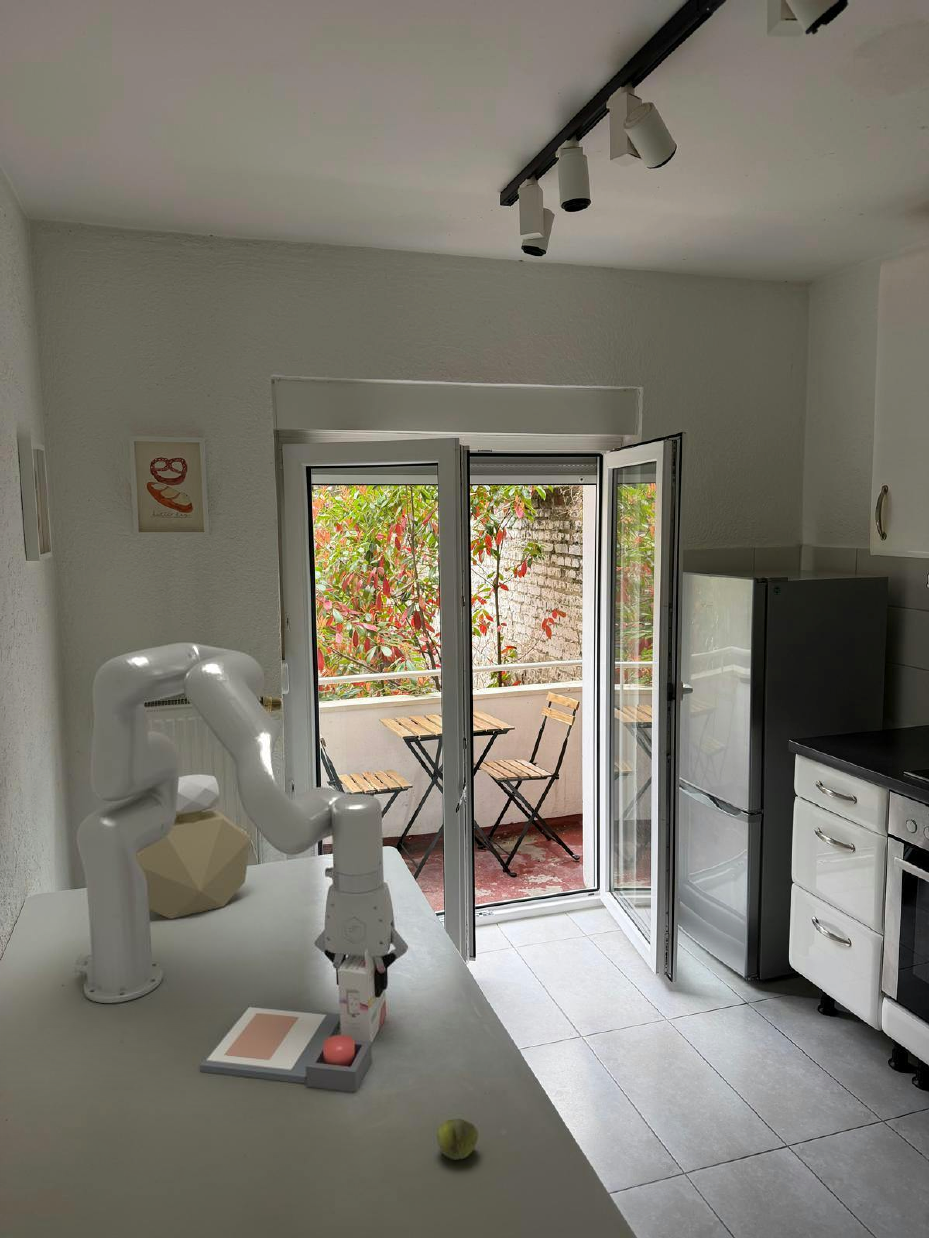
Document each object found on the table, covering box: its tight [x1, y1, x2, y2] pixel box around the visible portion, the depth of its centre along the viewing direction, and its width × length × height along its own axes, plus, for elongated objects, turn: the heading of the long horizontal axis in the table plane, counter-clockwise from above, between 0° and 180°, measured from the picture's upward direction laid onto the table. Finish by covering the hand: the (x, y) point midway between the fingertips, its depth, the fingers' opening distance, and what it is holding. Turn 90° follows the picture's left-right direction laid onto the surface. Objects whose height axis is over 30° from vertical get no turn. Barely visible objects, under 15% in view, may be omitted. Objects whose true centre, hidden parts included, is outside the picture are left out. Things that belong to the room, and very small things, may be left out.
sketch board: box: [199, 1004, 341, 1085], centre depth 131 cm, size 16×16×1 cm
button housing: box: [306, 1037, 373, 1093], centre depth 124 cm, size 7×7×3 cm
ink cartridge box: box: [337, 949, 387, 1045], centre depth 134 cm, size 9×5×15 cm, turn 168°
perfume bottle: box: [136, 773, 252, 920], centre depth 178 cm, size 12×24×28 cm, turn 121°
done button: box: [323, 1034, 355, 1067], centre depth 124 cm, size 4×4×3 cm
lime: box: [436, 1118, 479, 1161], centre depth 107 cm, size 4×5×5 cm
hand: (362, 989), depth 134 cm, fingers closed on ink cartridge box, 5 cm apart
